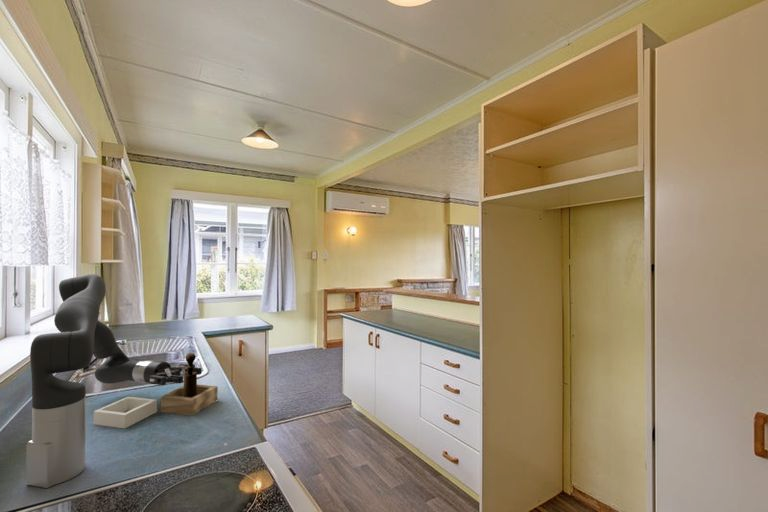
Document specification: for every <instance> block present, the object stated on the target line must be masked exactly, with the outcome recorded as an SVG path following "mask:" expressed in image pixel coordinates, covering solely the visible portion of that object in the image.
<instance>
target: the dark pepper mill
mask: <svg viewBox="0 0 768 512" xmlns="http://www.w3.org/2000/svg"><path fill="white" fill-rule="evenodd" d="M196 357H197V356H196V354H195V353H193V352H190V353H187V354H186V355H185V361H186V362H187V363H186V364H188V366H187V371H188V373H185V374H184V376H183V386H184V397H190V398H193V397H194V396H196V395H197V385H198V382H197V380H198V379H197V378H198V375H197V372H193V370H194V366H193V364H194V361H195V360H196Z"/></svg>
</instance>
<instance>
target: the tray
mask: <svg viewBox="0 0 768 512" xmlns="http://www.w3.org/2000/svg"><path fill="white" fill-rule="evenodd" d="M157 412H158V399H155V398H154V399H152V398H144V397H135V396H126V397H124V398H122V399H118V400H116V401H114V402H112V403H109V404H108V405H105V406H103V407H100V408H98V409H96V410H93V425H95V426H103V427H109V428H117V429H118V428H119V429H126V428H129V427H130V426H133V425H134V424H136V423H139V422H140V421H141V420H144V419H146V418H147V417H150V416H151V415H154V414H156V413H157Z"/></svg>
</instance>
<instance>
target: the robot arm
mask: <svg viewBox="0 0 768 512" xmlns="http://www.w3.org/2000/svg"><path fill="white" fill-rule="evenodd" d="M58 291H59V294H60V298H61V299H62V302H61V304H60V305H59V307H58V308H57V311H56V313H55V315H54V319H53V320H54V321H53V322H54V326H55V327H56V329H57V330H58V331H59V332H51V333H43V334H38V335H37V336H35V337H34V338H33V341H32V342H31V344H30V345H31V346H30V353H29V356H30V359H29V360H30V371H31V372H30V374H31V393H32V394H31V399H32V401H31V440H29V441H27V442H26V482H25V483H26V485H28V486H34V487H39V488H42V489H43V488H45V489H48V488H50V487H53V486H54V485H58V484H61V483H63V482H67V481H68V480H69V481H70V480H71V479H73V478H75V477H76V476H78V475H80V474H81V473H82V472H83V471H84V470H85V468H86V395H87V394H86V393H87V391H86V386H85V384H83V383H81V382H77V381H69V380H64V379H61V378H60V377H56V376H55V375H54V374H58V373H66V372H67V373H68V372H74V371H79V370H83V369H85V368H86V367H88V366H89V365H90V363H91V361H92V359H93V357H94V358H95V359H96V360H103V359H107V358H109V359H108V360H106V361H105V362H103V363H102V364H100V365H99V366H98V367H97V368H96V369H95V371H94V377H95V379H96V380H97V381H98V382H100V383H102V384H108V385H110V384H117V383H123V382H128V381H129V382H130V381H131V382H139V383H143V384H150V385H158V386H166V385H167V384H172V383H173V384H182V383H184V374H185V373H188V371H187V366H188V363H179V365H177V366H176V365H173V366H171V364H170V363H169V362H167V361H161V360H147V359H146V360H142V359H141V360H139V359H131V360H130V358H129V356H127V355H126V353H124V351H123V350H122V348H120V347H119V346H118V343H117V341H116V338H115V336H114V333H113V331H112V330H111V329H110V327H109V326H108V325H106V324H105V323H103V322H101V321H100V320H99V316H100V309H101V305H102V302H103V301H104V299H105V296H106V283H105V281H104V279H103V278H102V277H101V276H100V275H99V274H96V273H88V274H84V275H83V274H82V275H78V276H73V277H70V278H66V279H62V280H61V281H60V282H59V284H58ZM193 366H194V370H193V372H197V376H199V375H201V374H202V367H196V364H194V363H193Z"/></svg>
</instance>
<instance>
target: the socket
mask: <svg viewBox="0 0 768 512" xmlns="http://www.w3.org/2000/svg"><path fill="white" fill-rule="evenodd" d="M218 388H219V387H218V385H217V386H216V385H207V384H197V395H196V396H194V397H193V398H190V397H184V385H183V386H180V387H179V388H177V389H173V390H171V391H170V392H168V393H166V394H163V395H162V396H161V397H160V412H161V413H168V414H175V413H176V414H177V415H185V416H194V415H196V414H198V413H199V412H201V411H202V410H201V409H203V408H204V409H206V408H207V407H206V406H208V405H209V406H211V405H212V404H211V403H213V402H214V403H216V402H217V401H216V400H219V399H218V395H219V393H218ZM215 401H216V402H215ZM214 403H213V404H214ZM210 404H211V405H210ZM209 406H208V407H209ZM205 407H206V408H205ZM204 409H203V410H204ZM200 410H201V411H200ZM198 411H199V412H198ZM197 412H198V413H197ZM195 413H196V414H195Z"/></svg>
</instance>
